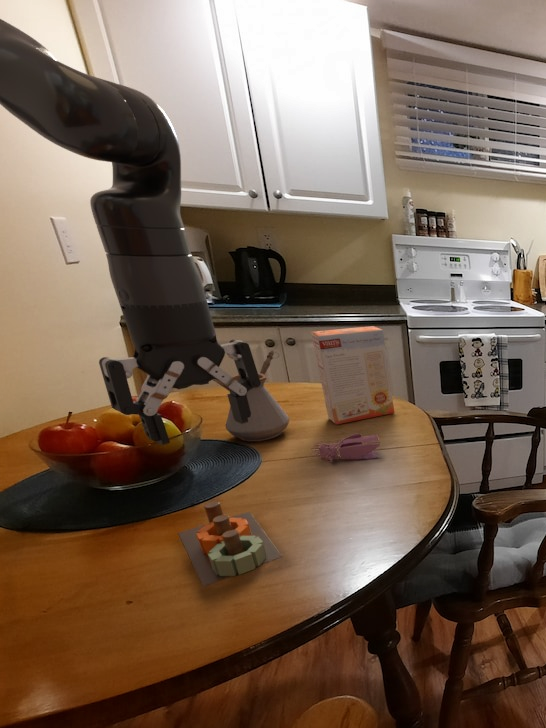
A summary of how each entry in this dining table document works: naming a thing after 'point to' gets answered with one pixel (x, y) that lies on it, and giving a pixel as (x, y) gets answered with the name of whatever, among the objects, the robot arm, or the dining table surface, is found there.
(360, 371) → the cracker box
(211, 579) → the rack
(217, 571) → the green ring
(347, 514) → the dining table surface
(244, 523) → the orange grooved ring
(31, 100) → the robot arm
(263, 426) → the coffee pot
